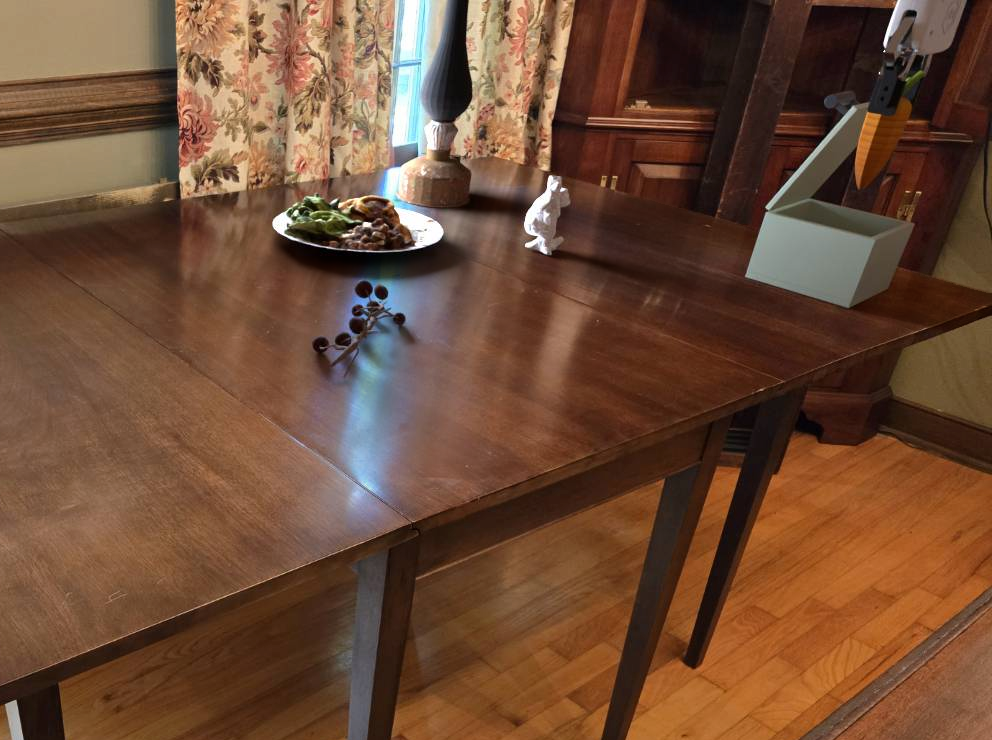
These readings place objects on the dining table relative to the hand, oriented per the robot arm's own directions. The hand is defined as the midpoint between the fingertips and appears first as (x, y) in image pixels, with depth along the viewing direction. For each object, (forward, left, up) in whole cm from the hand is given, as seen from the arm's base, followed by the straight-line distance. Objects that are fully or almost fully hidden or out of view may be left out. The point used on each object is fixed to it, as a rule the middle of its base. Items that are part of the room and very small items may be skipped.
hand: (889, 109), depth 122 cm
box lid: (+10, -14, -9) cm, 19 cm away
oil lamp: (+72, +1, -27) cm, 77 cm away
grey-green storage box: (+6, -14, -27) cm, 31 cm away
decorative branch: (+31, +61, -27) cm, 74 cm away
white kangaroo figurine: (+41, +9, -27) cm, 50 cm away
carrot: (0, 0, -10) cm, 10 cm away
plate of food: (+62, +31, -27) cm, 74 cm away
